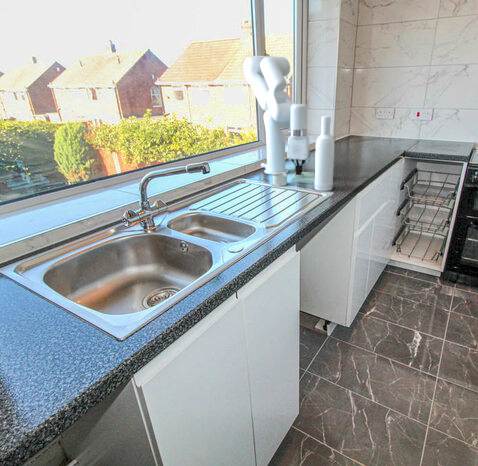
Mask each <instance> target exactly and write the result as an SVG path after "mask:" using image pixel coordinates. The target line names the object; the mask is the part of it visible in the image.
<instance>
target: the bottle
mask: <svg viewBox="0 0 478 466" xmlns="http://www.w3.org/2000/svg"><path fill="white" fill-rule="evenodd" d="M331 121H332V119H331V116H330V115H322V116H321V120H320V123H321V126H320V127H321V128H320V135H319V136H318V137H317V139H316V141H315V160H314V161H315V163H314V165H315V166H314V173H315V184H314V190H316V191H321V192H328V191H331V190H333V187H334V182H333V181H334V162H335V144H336V143H335V140H334V137H333V136H332V134H331V123H332V122H331Z"/></svg>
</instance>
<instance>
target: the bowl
mask: <svg viewBox="0 0 478 466" xmlns="http://www.w3.org/2000/svg"><path fill="white" fill-rule="evenodd" d="M272 184H273V185H274V186H275V187H284V186H287V185H288V173H286V174H285V173H276V174H273V175H272Z"/></svg>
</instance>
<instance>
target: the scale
mask: <svg viewBox="0 0 478 466" xmlns="http://www.w3.org/2000/svg"><path fill="white" fill-rule="evenodd" d="M291 182H292V183H293V182H294V183H303V184H312V185H313V184H314V185H315V172H309V171H302V173H301V175H296V172H295V173H293V174H292V179H291Z"/></svg>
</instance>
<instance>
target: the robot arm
mask: <svg viewBox="0 0 478 466" xmlns="http://www.w3.org/2000/svg"><path fill="white" fill-rule="evenodd" d="M242 68H243V74H244V78H245V79H246V81H247V83H248V85H249V86H250V87H251V89H252V91H253V93H254V95H255V98H256V100H257V102H258V104H259V107H260V108H261V110H262V111H264V113H263V122H264V129H265V140H266V142H265V143H266V163H264V162H263V163H261V164H260V167H261V168H262V169H263V168H264V174H266V175H270V176H273V174H276V173H285V174H288V173H289V169H288V168H286V156H287V160H288V161H290V162H292V163H293V165H294V167H295V173H296V174H301V173H302V172H303V165H304V164H305V163H308V162H310V161H311V144H310V143H311V142H310V137H309V136H308V106H307V105H306V104H305V103H296V102H295V103H294V102H293V101H292V99H291V97H290V95H289V94H288V93H287V92H286V91H285V90H286V88H287V84H288V83H287V80H286V78H285V77H287V76H288V75H290V72H291V64H290V61H289V60H288V58H287V57H284V56H273V55H250V56H247V57H246V58H245V59H244V61H243V67H242ZM289 128H290V129H289ZM282 129H288V130H287V134H289V136H288V138H287V145H286V137H285V133H284V132H283V131H282ZM286 147H287V148H286Z"/></svg>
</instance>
